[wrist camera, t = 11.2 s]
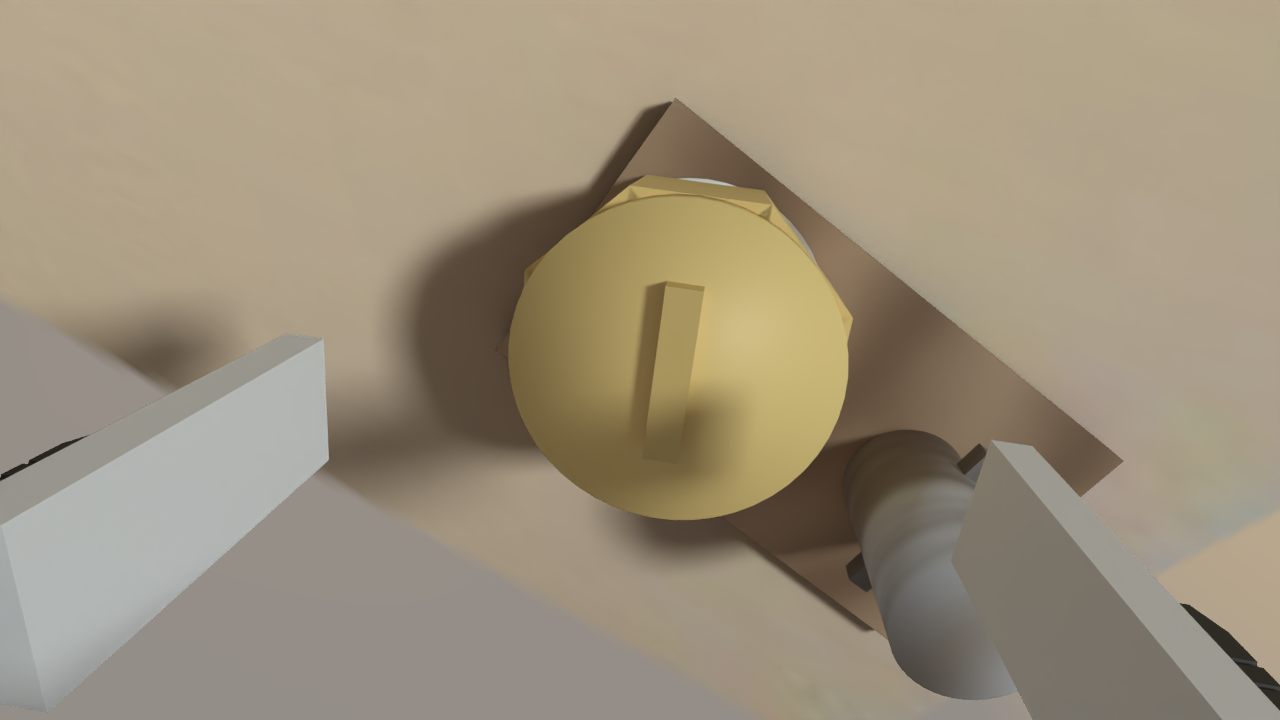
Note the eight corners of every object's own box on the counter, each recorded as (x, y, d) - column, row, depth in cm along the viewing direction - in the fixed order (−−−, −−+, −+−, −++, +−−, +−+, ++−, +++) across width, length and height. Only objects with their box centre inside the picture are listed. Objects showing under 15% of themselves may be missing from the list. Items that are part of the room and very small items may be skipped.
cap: (566, 163, 23) (511, 176, 17) (849, 201, 22) (890, 228, 17) (545, 418, 26) (493, 501, 20) (793, 458, 26) (812, 556, 20)
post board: (503, 342, 27) (399, 442, 18) (677, 99, 23) (647, 84, 15) (893, 630, 29) (961, 841, 20) (1108, 448, 25) (1300, 611, 17)
